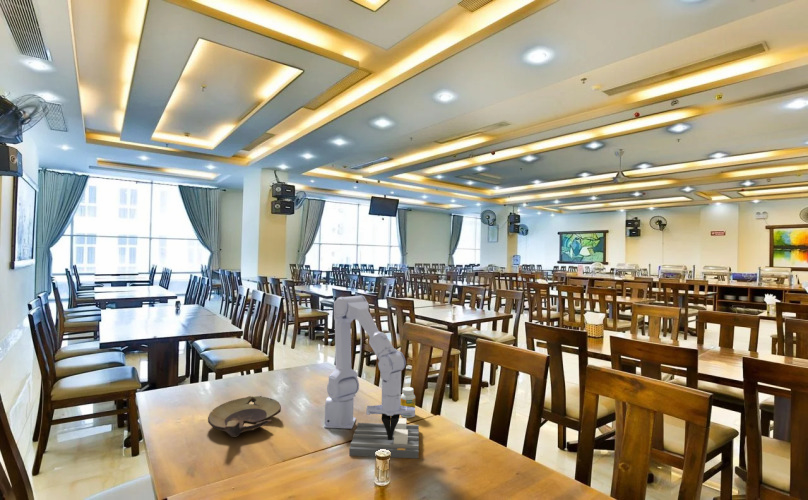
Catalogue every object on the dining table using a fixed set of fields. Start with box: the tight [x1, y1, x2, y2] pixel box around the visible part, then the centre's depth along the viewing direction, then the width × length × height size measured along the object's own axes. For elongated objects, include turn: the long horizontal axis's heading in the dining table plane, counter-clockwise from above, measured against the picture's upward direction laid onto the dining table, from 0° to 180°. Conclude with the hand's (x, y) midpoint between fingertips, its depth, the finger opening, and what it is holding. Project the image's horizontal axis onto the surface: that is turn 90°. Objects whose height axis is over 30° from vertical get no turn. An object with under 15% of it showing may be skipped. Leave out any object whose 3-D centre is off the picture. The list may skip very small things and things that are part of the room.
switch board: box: [348, 422, 420, 459], centre depth 123 cm, size 20×17×3 cm
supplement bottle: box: [400, 386, 416, 419], centre depth 143 cm, size 5×5×10 cm
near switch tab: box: [394, 429, 408, 444], centre depth 118 cm, size 4×4×3 cm
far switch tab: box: [394, 417, 408, 431], centre depth 126 cm, size 4×4×3 cm
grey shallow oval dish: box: [207, 395, 282, 438], centre depth 131 cm, size 22×30×8 cm
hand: (390, 438), depth 119 cm, fingers closed
